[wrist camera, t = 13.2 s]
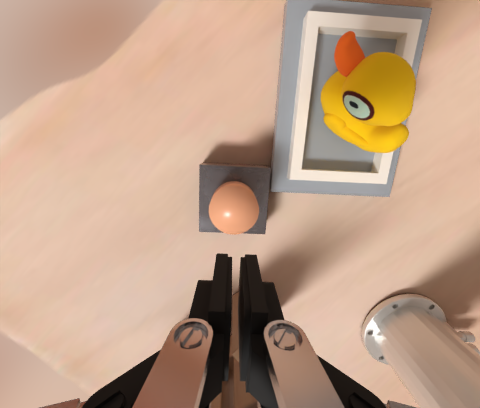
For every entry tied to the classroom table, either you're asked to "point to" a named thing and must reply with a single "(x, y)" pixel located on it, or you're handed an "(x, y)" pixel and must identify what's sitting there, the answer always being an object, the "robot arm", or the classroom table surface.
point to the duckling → (368, 97)
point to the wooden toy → (234, 373)
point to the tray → (310, 86)
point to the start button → (233, 208)
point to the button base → (222, 173)
